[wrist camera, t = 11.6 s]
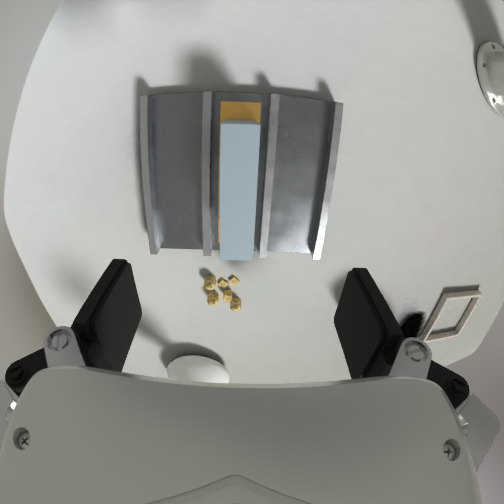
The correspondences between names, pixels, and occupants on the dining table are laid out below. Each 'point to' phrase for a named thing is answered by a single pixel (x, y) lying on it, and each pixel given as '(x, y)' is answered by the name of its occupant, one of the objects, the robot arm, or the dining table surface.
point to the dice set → (214, 297)
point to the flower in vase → (197, 370)
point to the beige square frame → (442, 303)
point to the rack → (208, 168)
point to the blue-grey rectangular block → (238, 188)
